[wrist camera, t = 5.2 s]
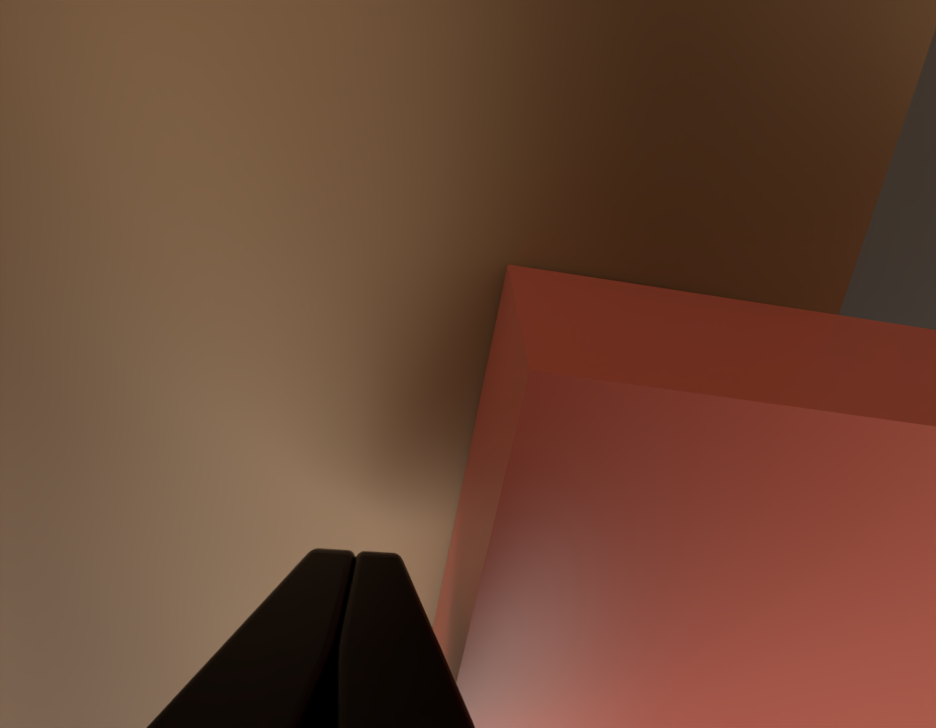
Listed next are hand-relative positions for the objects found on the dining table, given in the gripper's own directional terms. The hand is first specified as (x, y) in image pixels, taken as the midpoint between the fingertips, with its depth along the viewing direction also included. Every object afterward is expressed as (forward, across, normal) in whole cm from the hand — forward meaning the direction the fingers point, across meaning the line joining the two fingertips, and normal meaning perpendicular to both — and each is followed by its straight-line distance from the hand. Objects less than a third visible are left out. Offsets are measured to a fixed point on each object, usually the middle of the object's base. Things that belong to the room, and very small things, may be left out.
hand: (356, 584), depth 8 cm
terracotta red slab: (+1, -5, 0) cm, 6 cm away
